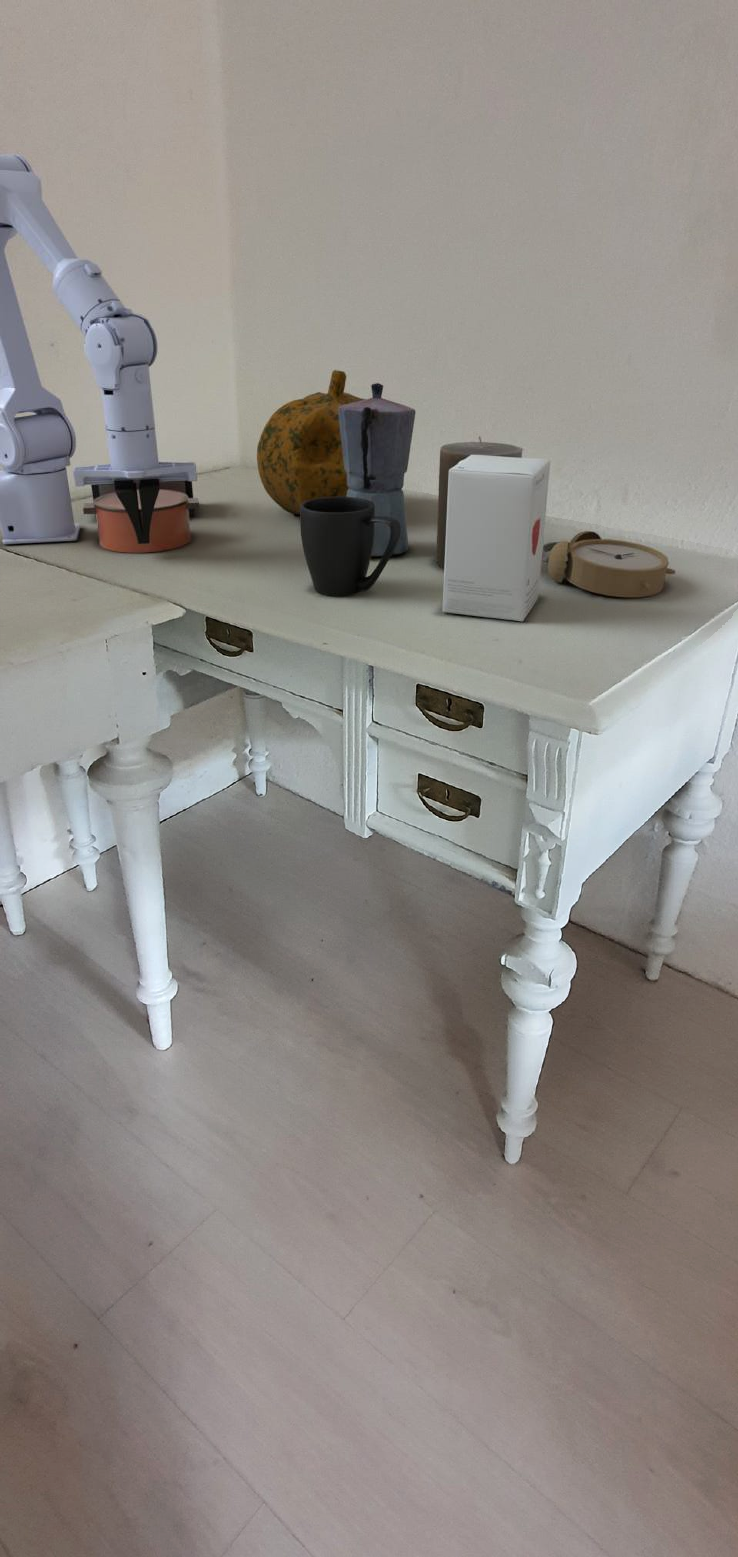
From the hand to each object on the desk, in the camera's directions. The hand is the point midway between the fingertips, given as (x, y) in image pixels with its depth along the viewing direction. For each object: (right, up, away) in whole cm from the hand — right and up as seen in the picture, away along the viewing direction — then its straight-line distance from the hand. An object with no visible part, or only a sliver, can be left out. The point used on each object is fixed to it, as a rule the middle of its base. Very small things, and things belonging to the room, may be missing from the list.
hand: (143, 541), depth 122 cm
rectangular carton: (+42, -11, -17) cm, 46 cm away
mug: (+26, -9, -12) cm, 30 cm away
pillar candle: (+41, -3, -2) cm, 42 cm away
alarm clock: (+55, -7, -9) cm, 56 cm away
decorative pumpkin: (+23, +9, +21) cm, 33 cm away
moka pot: (+29, -1, +3) cm, 29 cm away
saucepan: (-2, +2, +8) cm, 8 cm away
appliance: (-5, +10, +22) cm, 24 cm away
